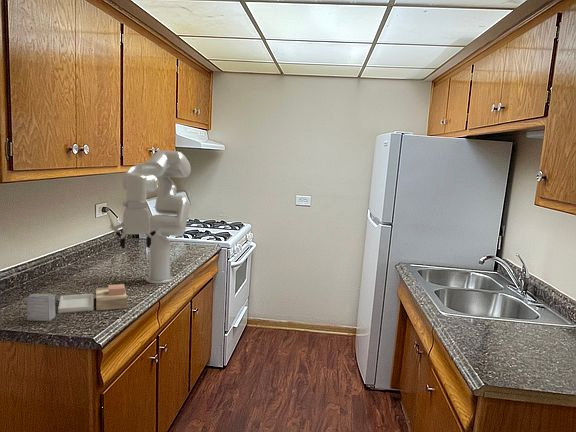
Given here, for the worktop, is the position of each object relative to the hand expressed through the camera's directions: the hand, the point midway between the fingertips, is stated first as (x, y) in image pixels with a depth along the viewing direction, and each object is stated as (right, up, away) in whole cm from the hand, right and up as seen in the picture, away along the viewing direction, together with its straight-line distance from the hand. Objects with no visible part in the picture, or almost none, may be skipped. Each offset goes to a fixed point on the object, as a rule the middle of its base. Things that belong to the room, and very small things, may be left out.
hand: (135, 247), depth 178 cm
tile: (-8, -18, 0) cm, 20 cm away
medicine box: (-26, -24, -21) cm, 41 cm away
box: (-21, -22, -5) cm, 31 cm away
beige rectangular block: (-10, -22, 0) cm, 24 cm away
